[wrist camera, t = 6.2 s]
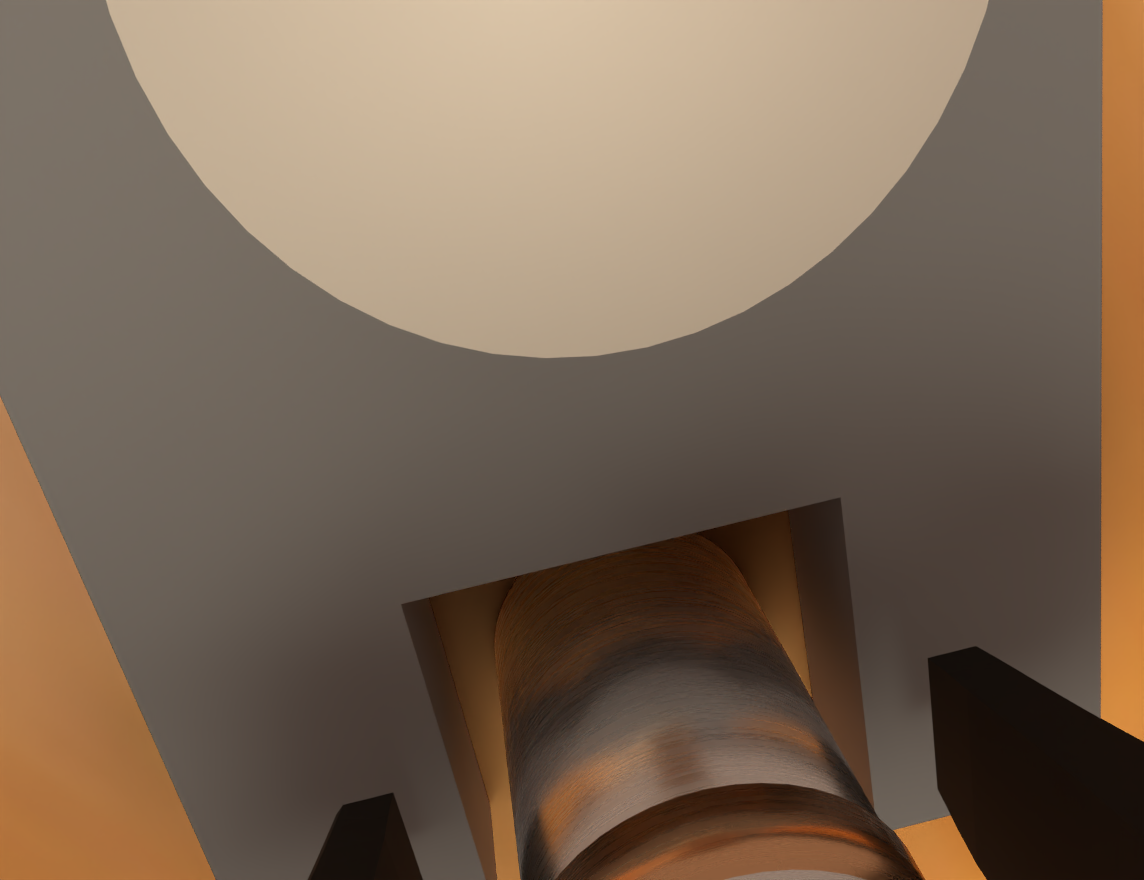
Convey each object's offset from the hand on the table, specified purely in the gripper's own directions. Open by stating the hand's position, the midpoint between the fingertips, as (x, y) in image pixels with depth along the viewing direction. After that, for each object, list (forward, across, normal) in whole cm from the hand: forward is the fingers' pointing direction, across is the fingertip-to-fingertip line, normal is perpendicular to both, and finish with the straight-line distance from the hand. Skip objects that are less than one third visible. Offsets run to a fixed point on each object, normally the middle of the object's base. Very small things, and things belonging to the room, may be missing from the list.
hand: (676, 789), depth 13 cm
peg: (+4, 0, 0) cm, 4 cm away
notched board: (+4, 0, -5) cm, 6 cm away
